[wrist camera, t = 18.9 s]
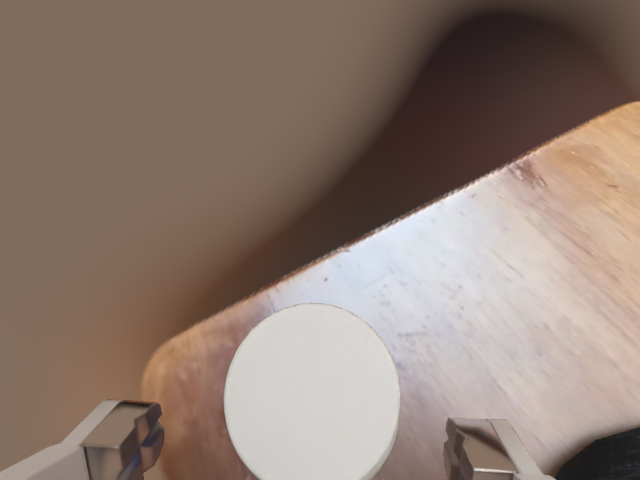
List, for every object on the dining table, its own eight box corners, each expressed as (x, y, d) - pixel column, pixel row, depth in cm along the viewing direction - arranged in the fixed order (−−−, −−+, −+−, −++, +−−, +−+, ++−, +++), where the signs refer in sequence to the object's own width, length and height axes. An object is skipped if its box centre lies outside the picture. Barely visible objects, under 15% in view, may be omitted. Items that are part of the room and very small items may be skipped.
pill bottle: (249, 409, 15) (164, 379, 7) (326, 336, 16) (316, 253, 9) (321, 510, 13) (299, 600, 6) (401, 416, 14) (464, 390, 7)
